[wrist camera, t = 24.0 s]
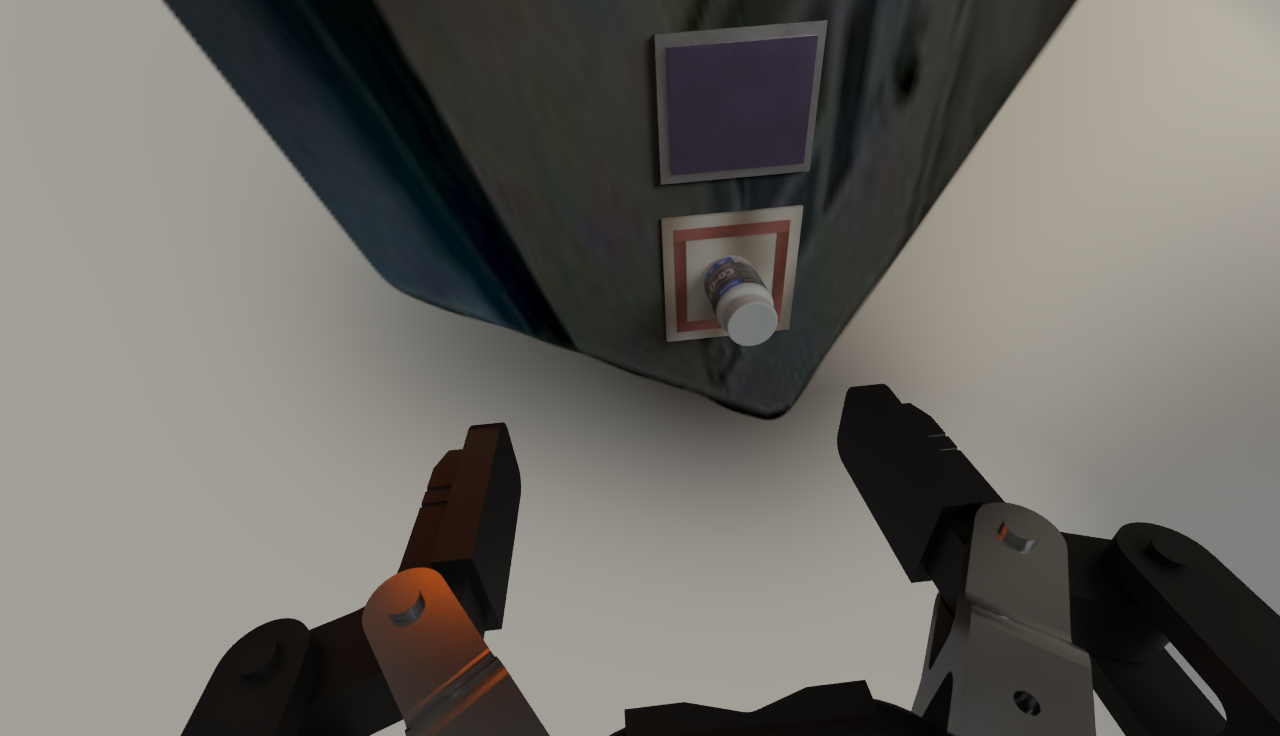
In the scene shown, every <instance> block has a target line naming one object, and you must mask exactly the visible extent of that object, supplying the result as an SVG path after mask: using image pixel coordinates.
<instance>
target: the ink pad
mask: <svg viewBox="0 0 1280 736" xmlns="http://www.w3.org/2000/svg"><path fill="white" fill-rule="evenodd" d="M826 28H827V20H820V21H808V22H796V23H784V24H772V25H760V26H748V27H736V28H724V29H711V30H699V31H687V32H675V33H663V34H653V37H654V60H655V83H656V106H657V129H658V153H659V176H660V184H661V185H663V184H674V183H685V182H695V181H706V180H717V179H728V178H739V177H750V176H761V175H772V174H783V173H793V172H804V171H810V162H811V154H812V145H813V137H814V129H815V120H816V112H817V103H818V95H819V87H820V78H821V70H822V61H823V53H824V44H825V36H826Z"/></svg>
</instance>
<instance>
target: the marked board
mask: <svg viewBox="0 0 1280 736" xmlns="http://www.w3.org/2000/svg"><path fill="white" fill-rule="evenodd" d="M802 213H803V206H802V205H799V206H788V207H777V208H767V209H756V210H745V211H735V212H724V213H714V214H703V215H692V216H682V217H671V218H661V225H662V248H663V271H664V294H665V317H666V340H667V342H671V341H680V340H690V339H700V338H710V337H720V336H729V335H728V333H727V332H726V331H725V330H724V329H723V328H722V327H721V326H720V325H719V323H718V321H717V319H716V316H715V313H714V311H713V309H712V306H711V304H710V302H709V299H708V297H707V294H706V292H705V289H704V276H705V274H706V272H707V270H708V268H709V267H710V266H711V265H712V264H713V263H714V262H715V261H716V260H718V259H720V258H722V257H725V256H734V255H735V256H740V257H742V258H744V259H746V260H747V261H749V262H750V263H751V265H752V266H753V267H754V269H755V270H756V272H757V273H758V275H759V276H760V278H761V280H762V281H763V283H764V284H765V286H766V288H767V289H768V291H769V292H770V294H771V296H772V298H773V302H774V309H775V311H776V313H777V317H778V323H777V327H776V329H775V331H779V330H789V324H790V316H791V307H792V299H793V290H794V282H795V273H796V264H797V256H798V247H799V239H800V230H801V222H802Z"/></svg>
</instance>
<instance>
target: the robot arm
mask: <svg viewBox="0 0 1280 736" xmlns="http://www.w3.org/2000/svg"><path fill="white" fill-rule="evenodd" d="M837 446H838V451H839V455H840V458H841V460H842V462H843V464H844V466H845V468H846V469H847V471H848V473H849V475H850V476H851V478H852V480H853V482H854V483H855V485H856V487H857V488H858V490H859V492H860V494H861V496H862V497H863V499H864V501H865V502H866V504H867V506H868V508H869V510H870V511H871V513H872V515H873V517H874V518H875V520H876V522H877V524H878V525H879V527H880V529H881V531H882V532H883V534H884V536H885V537H886V539H887V541H888V543H889V545H890V546H891V548H892V550H893V552H894V553H895V555H896V557H897V559H898V560H899V562H900V564H901V565H902V567H903V569H904V571H905V573H906V574H907V576H908V578H909V580H910V581H911V583H914V582H922V581H931V580H933V582H934V583H935V585H936V587H937V588H938V590H939V592H938V594H937V597H936V599H935V604H934V610H933V616H932V622H931V627H930V633H929V638H928V645H927V650H926V656H925V661H924V667H923V673H922V678H921V682H920V685H919V689H918V692H917V695H916V698H915V701H914V704H913V707H912V711H908V710H906V709H904V708H901V707H899V706H897V705H894V704H891V703H887V702H884V701H881V700H876V699H873V698H872V695H871V693H870V690H869V688H868V686H867V683H866V681H865V680H861V681H853V682H845V683H838V684H829V685H820V686H812V687H806V688H804V689H802V690H800V691H798V692H795V693H793V694H791V695H789V696H787V697H784V698H782V699H780V700H778V701H776V702H774V703H771V704H769V705H767V706H765V707H763V708H761V709H758V710H756V711H753V712H739V711H733V710H727V709H721V708H715V707H709V706H703V705H698V704H692V703H686V702H683V703H675V704H667V705H658V706H650V707H642V708H634V709H626V710H625V725H626V726H625V728H623V729H621V730H619V731H617V732H615V733H613V734H611V735H610V736H1096V728H1095V714H1094V699H1093V689H1094V691H1095V692H1096V693H1097V695H1098V696H1099V698H1100V699H1101V701H1102V702H1103V704H1104V705H1105V707H1106V708H1107V709H1108V711H1109V712H1110V714H1111V715H1112V717H1113V718H1114V720H1115V721H1116V722H1117V724H1118V725H1119V727H1120V728H1121V729H1122V731H1123V733H1124V734H1125V735H1126V736H1280V616H1279V615H1278V614H1277V613H1276V612H1274V611H1273V610H1272V609H1271V608H1270V607H1269V606H1268V605H1267V604H1266V603H1265V602H1264V601H1262V600H1261V599H1260V598H1259V597H1258V596H1257V595H1256V594H1255V593H1254V592H1253V591H1252V590H1250V589H1249V588H1248V587H1247V586H1246V585H1245V584H1244V583H1243V582H1242V581H1241V580H1240V579H1239V578H1237V577H1236V576H1235V575H1234V574H1233V573H1232V572H1231V571H1230V570H1229V569H1228V568H1227V567H1225V566H1224V565H1223V564H1222V563H1221V562H1220V561H1219V560H1218V559H1217V558H1216V557H1215V556H1214V555H1212V554H1211V553H1210V552H1209V551H1208V550H1207V549H1205V548H1204V547H1203V546H1201V545H1200V544H1198V543H1197V542H1195V541H1194V540H1192V539H1190V538H1189V537H1187V536H1185V535H1183V534H1181V533H1179V532H1177V531H1174V530H1171V529H1169V528H1166V527H1163V526H1160V525H1155V524H1151V523H1140V522H1138V523H1137V522H1136V523H1130V524H1126V525H1124V526H1122V527H1121V528H1120V529H1119V531H1118V532H1117V533H1116V535H1115V536H1114V537H1113V539H1112V540H1109V539H1102V538H1095V537H1089V536H1082V535H1076V534H1069V533H1064V532H1059V531H1058V529H1057V528H1056V527H1055V526H1054V525H1053V524H1052V523H1051V522H1049V521H1048V520H1047V519H1045V518H1044V517H1043V516H1041V515H1039V514H1038V513H1036V512H1034V511H1032V510H1030V509H1028V508H1025V507H1022V506H1019V505H1015V504H1011V503H1005V502H1004V501H1003V500H1002V498H1001V497H1000V496H999V495H998V494H997V493H996V491H995V490H994V489H993V488H992V487H991V486H990V484H989V483H988V482H987V481H986V480H985V479H984V477H983V476H982V475H981V474H980V473H979V472H978V471H977V469H976V468H975V467H974V466H973V465H972V464H971V462H970V461H969V460H968V459H967V458H966V457H965V455H964V454H963V453H962V452H961V451H960V450H957V446H956V445H955V444H954V443H953V442H952V440H951V439H950V438H949V437H948V436H947V437H946V436H945V432H944V431H943V430H942V429H941V428H940V427H939V425H938V424H937V423H936V422H935V421H934V419H933V418H932V417H931V416H929V415H928V414H926V413H925V412H923V411H922V410H920V409H919V408H917V407H915V406H914V405H912V404H911V403H906V404H902V403H901V402H900V401H899V399H898V398H897V397H896V396H895V394H894V393H893V392H892V391H891V389H890V388H889V387H888V386H886V385H885V384H876V385H867V386H857V387H850V388H849V389H848V391H847V393H846V397H845V402H844V407H843V411H842V416H841V421H840V426H839V430H838V436H837ZM520 495H521V479H520V472H519V467H518V464H517V460H516V457H515V453H514V450H513V446H512V443H511V439H510V436H509V432H508V429H507V426H506V424H505V423H503V422H502V423H493V424H484V425H473V426H471V427H470V428H469V430H468V433H467V437H466V440H465V444H464V447H463V449H460V450H451V451H448V452H447V453H446V454H445V456H444V457H443V458H442V459H441V461H440V462H439V463H438V464H437V465H436V466H435V467H434V469H433V472H432V475H431V478H430V481H429V484H428V487H427V492H425V495H424V498H423V501H422V508H420V510H419V513H418V516H417V519H416V522H415V524H414V527H413V530H412V533H411V536H410V539H409V542H408V545H407V548H406V551H405V553H404V556H403V559H402V562H401V565H400V568H399V570H398V573H397V574H396V575H394V576H392V577H391V578H389V579H388V580H386V581H385V582H384V583H383V584H382V585H380V586H379V587H378V588H377V589H376V591H375V592H374V593H373V594H372V596H371V597H370V598H369V600H368V602H367V604H366V606H365V607H363V608H361V609H359V610H357V611H355V612H353V613H350V614H348V615H346V616H343V617H341V618H338V619H336V620H333V621H331V622H328V623H326V624H323V625H321V626H318V627H316V628H313V629H311V630H308V628H307V627H306V626H305V625H304V624H303V623H302V622H300V621H298V620H296V619H290V618H285V619H278V620H273V621H270V622H268V623H265V624H263V625H261V626H259V627H257V628H255V629H254V630H252V631H250V632H249V633H248V634H246V635H245V636H243V637H242V638H241V639H240V640H238V641H237V642H236V643H235V644H234V645H233V646H232V647H231V648H230V649H229V650H228V651H227V653H226V654H225V655H224V656H223V658H222V659H221V660H220V662H219V664H218V665H217V667H216V669H215V671H214V672H213V674H212V676H211V678H210V680H209V682H208V684H207V686H206V688H205V690H204V692H203V694H202V696H201V698H200V699H199V702H198V703H197V705H196V707H195V709H194V711H193V713H192V715H191V717H190V719H189V721H188V723H187V725H186V727H185V728H184V730H183V732H182V734H181V736H370V735H371V734H374V733H376V732H378V731H380V730H382V729H384V728H386V727H388V726H390V725H392V724H395V723H396V722H399V721H401V720H403V719H404V721H405V724H406V727H407V729H406V730H405V734H406V736H549V734H548V733H547V731H546V729H545V728H544V726H543V725H542V724H541V722H540V720H539V719H538V717H537V716H536V714H535V713H534V711H533V710H532V708H531V707H530V705H529V704H528V702H527V700H526V699H525V697H524V696H523V694H522V693H521V691H520V690H519V688H518V687H517V685H516V684H515V682H514V681H513V679H512V678H511V676H510V674H509V673H508V672H507V670H506V669H505V667H504V666H503V664H502V663H501V661H500V660H499V659H498V658H497V657H495V656H494V655H493V654H492V653H491V651H490V649H489V648H488V646H487V645H486V643H485V642H484V640H483V639H484V633H485V631H489V630H497V629H502V622H503V616H504V608H505V602H506V594H507V588H508V580H509V573H510V566H511V559H512V551H513V545H514V538H515V531H516V524H517V517H518V510H519V503H520ZM1169 642H1171V643H1172V644H1173V646H1175V648H1176V649H1177V650H1178V651H1179V652H1180V654H1181V655H1182V656H1183V657H1184V658H1185V659H1186V661H1187V662H1188V663H1189V664H1190V665H1191V666H1192V667H1193V668H1194V670H1195V671H1196V672H1197V673H1198V674H1199V676H1201V678H1202V679H1203V680H1204V681H1205V682H1206V684H1208V686H1209V687H1210V688H1211V689H1212V691H1213V692H1214V693H1215V694H1216V695H1217V697H1218V698H1219V700H1220V701H1221V703H1222V705H1223V707H1224V710H1225V713H1226V718H1227V721H1226V720H1225V719H1224V718H1223V717H1222V715H1221V714H1220V713H1219V712H1218V711H1217V709H1216V708H1215V707H1214V706H1213V705H1212V703H1211V702H1210V701H1209V700H1208V699H1207V698H1206V696H1205V695H1204V694H1203V693H1202V692H1201V691H1200V689H1199V688H1198V687H1197V686H1196V685H1195V684H1194V682H1193V681H1192V680H1191V679H1190V678H1189V676H1188V675H1187V674H1186V673H1185V672H1184V671H1183V669H1182V668H1181V667H1180V666H1179V665H1178V663H1177V662H1176V661H1175V660H1174V659H1173V658H1172V657H1171V655H1170V654H1169V653H1168V652H1167V651H1166V649H1165V648H1164V647H1165V646H1166V645H1167V644H1168V643H1169Z"/></svg>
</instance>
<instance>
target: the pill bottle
mask: <svg viewBox="0 0 1280 736" xmlns="http://www.w3.org/2000/svg"><path fill="white" fill-rule="evenodd" d="M704 289H705V292H706V294H707V297H708V299H709V302H710V304H711V306H712V309H713V311H714V313H715V316H716V319H717V321H718V323H719V325H720V326H721V327H722V328H723V329H724V330H725V331H726V332H727V333H728V335H729V337H730V338H731V339H732V340H733V341H734V342H735V343H737V344H739V345H743V346H753V345H758V344H760V343H762V342H764V341H766V340H767V339H768V338H769V337H770V336H771V335H772V334H773V333H774V331H775V329H776V327H777V323H778V317H777V313H776V311H775V309H774V302H773V298H772V296H771V294H770V292H769V291H768V289H767V288H766V286H765V284H764V283H763V281H762V280H761V278H760V276H759V275H758V273H757V272H756V270H755V269H754V267H753V266H752V265H751V263H750V262H749V261H747V260H746V259H744V258H742V257H740V256H735V255H734V256H725V257H722V258H720V259H718V260H716V261H715V262H714V263H713V264H712V265H711V266H710V267H709V268H708V270H707V272H706V274H705V276H704Z"/></svg>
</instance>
